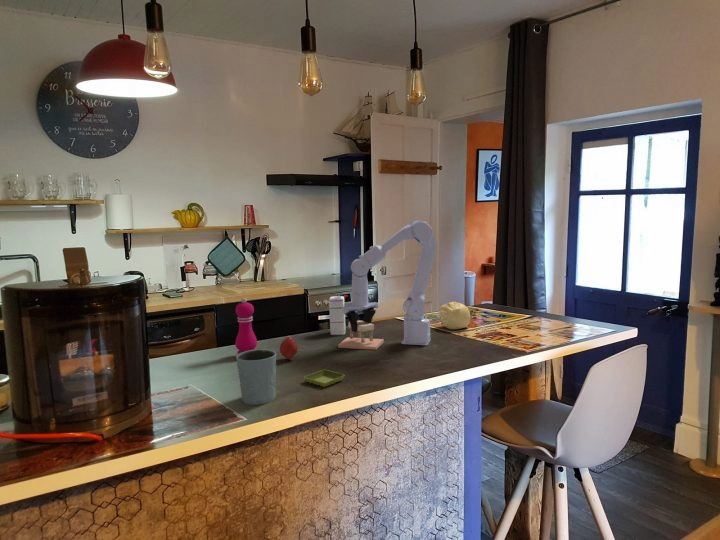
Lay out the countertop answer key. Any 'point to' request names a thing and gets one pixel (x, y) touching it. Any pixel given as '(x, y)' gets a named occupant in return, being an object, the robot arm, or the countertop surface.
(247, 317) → the pepper mill
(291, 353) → the pomegranate
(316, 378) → the saucer
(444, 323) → the pale yellow round lump
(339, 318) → the syrup box
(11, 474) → the countertop surface
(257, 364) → the grey cup
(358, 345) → the board
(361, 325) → the stool
